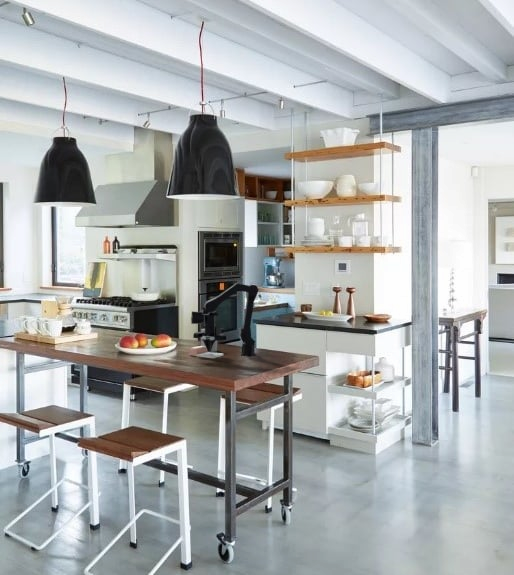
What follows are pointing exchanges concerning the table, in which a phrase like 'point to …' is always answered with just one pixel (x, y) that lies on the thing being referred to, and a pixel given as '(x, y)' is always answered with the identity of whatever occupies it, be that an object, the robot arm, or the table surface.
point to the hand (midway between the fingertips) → (209, 351)
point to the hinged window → (209, 354)
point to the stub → (197, 350)
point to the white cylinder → (213, 344)
